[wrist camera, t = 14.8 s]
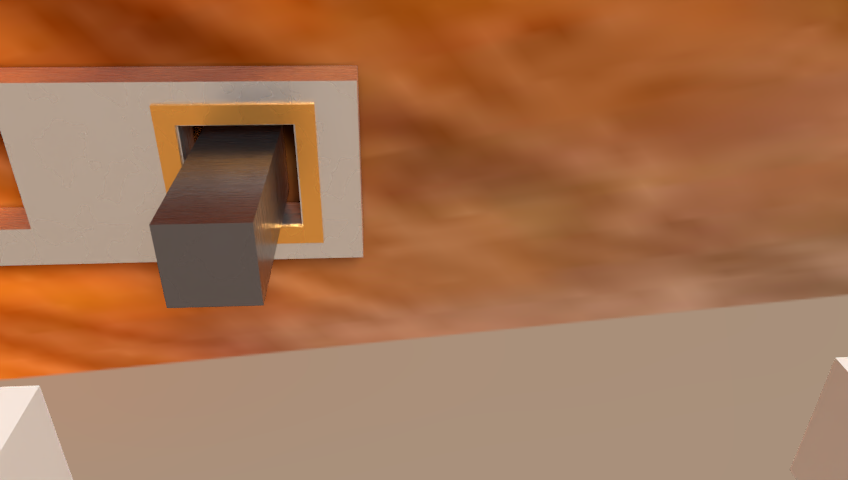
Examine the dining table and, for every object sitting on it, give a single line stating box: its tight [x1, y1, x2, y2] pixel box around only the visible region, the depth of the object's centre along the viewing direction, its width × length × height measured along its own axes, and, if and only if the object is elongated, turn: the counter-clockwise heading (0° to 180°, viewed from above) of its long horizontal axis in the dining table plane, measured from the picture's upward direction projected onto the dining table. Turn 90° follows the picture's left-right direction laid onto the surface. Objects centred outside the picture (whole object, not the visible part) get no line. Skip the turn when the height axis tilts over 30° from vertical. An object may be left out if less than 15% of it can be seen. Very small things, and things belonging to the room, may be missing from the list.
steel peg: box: [149, 125, 289, 308], centre depth 33 cm, size 4×4×11 cm
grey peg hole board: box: [0, 66, 363, 266], centre depth 36 cm, size 10×26×3 cm, turn 89°
